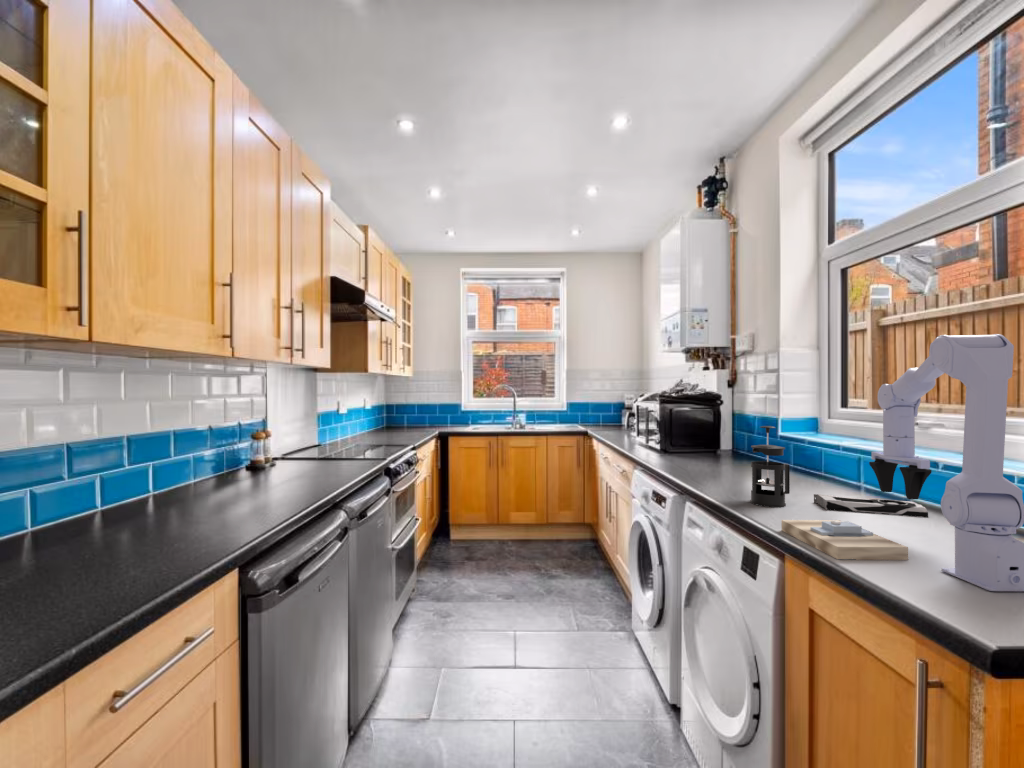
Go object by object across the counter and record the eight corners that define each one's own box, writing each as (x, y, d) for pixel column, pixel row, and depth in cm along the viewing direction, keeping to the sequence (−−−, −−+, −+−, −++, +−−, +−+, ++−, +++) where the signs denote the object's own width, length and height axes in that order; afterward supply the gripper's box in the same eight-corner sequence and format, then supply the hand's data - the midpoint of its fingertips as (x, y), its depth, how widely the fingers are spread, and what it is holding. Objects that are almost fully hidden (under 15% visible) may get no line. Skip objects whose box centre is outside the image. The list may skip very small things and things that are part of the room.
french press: (760, 507, 139) (760, 427, 139) (741, 500, 148) (741, 425, 149) (798, 506, 140) (798, 427, 141) (777, 499, 150) (777, 425, 150)
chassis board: (908, 559, 96) (908, 547, 96) (837, 559, 96) (837, 546, 96) (839, 530, 116) (839, 520, 116) (781, 530, 116) (781, 520, 116)
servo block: (873, 547, 104) (873, 524, 104) (822, 547, 104) (822, 523, 104) (859, 541, 108) (859, 519, 108) (810, 541, 108) (810, 519, 108)
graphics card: (813, 493, 146) (914, 499, 138) (813, 504, 146) (914, 511, 138) (823, 500, 136) (932, 507, 129) (823, 512, 136) (932, 520, 128)
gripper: (943, 439, 105) (944, 502, 105) (891, 433, 120) (891, 489, 120) (911, 439, 105) (911, 502, 105) (862, 433, 120) (863, 488, 120)
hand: (898, 495), depth 112 cm, fingers open, 7 cm apart
